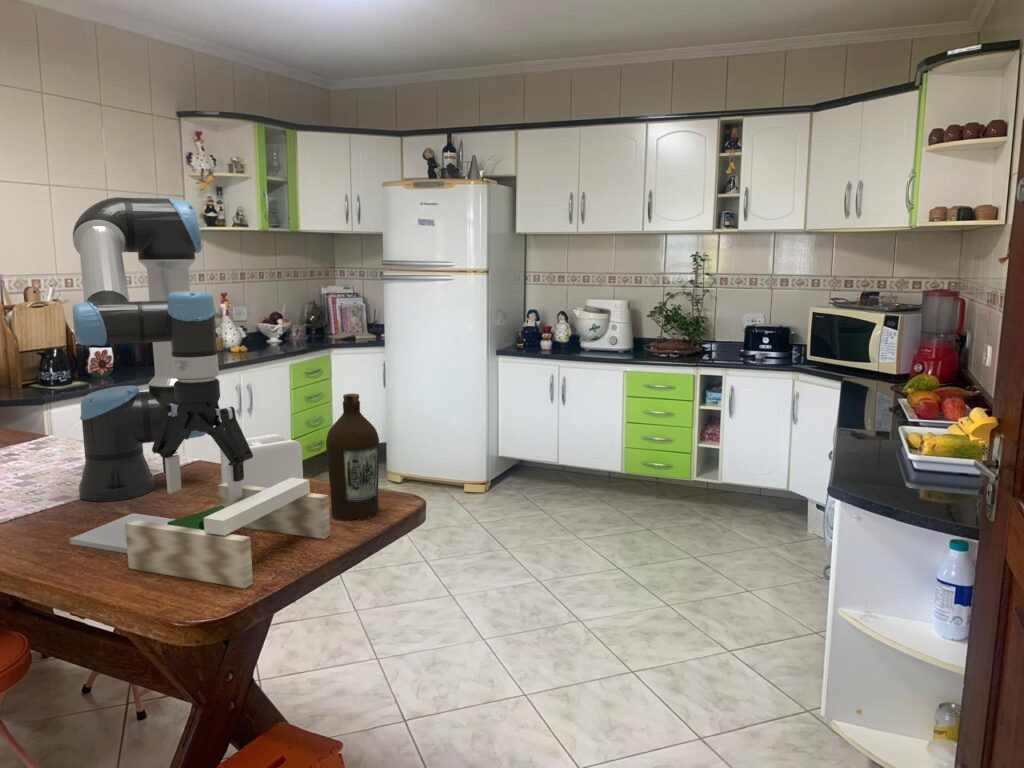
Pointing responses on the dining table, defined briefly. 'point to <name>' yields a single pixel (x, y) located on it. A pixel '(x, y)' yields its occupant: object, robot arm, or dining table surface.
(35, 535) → the dining table surface
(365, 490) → the olive oil
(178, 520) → the clamp
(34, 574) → the dining table surface
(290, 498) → the strap bar
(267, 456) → the cable organizer
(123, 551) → the grey pad
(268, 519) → the stand
